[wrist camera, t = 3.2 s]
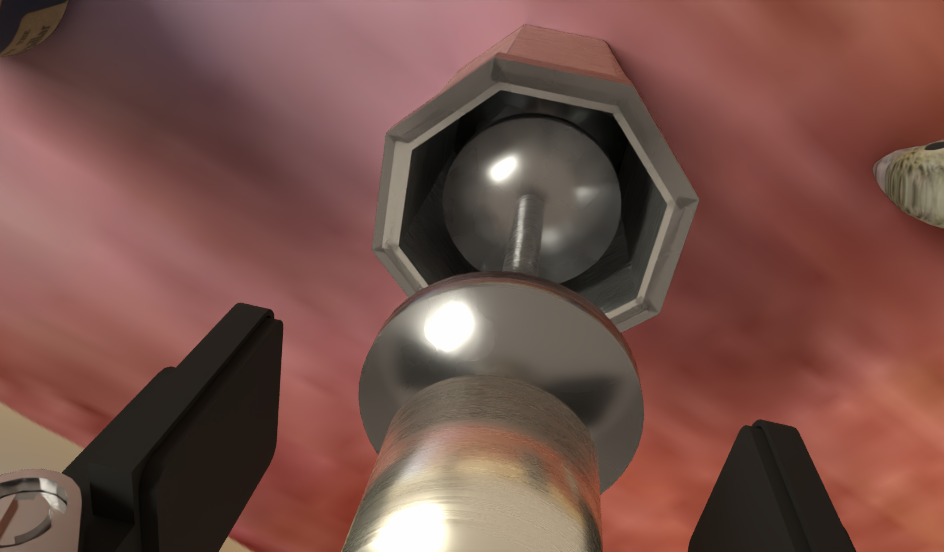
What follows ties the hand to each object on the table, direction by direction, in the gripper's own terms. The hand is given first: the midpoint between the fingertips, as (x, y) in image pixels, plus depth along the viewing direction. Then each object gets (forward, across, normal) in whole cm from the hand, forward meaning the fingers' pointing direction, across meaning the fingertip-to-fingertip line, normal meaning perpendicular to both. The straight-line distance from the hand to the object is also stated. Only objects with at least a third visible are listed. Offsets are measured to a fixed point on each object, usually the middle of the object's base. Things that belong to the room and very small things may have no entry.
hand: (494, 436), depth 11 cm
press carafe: (+22, 0, +1) cm, 22 cm away
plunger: (+12, 0, 0) cm, 12 cm away
